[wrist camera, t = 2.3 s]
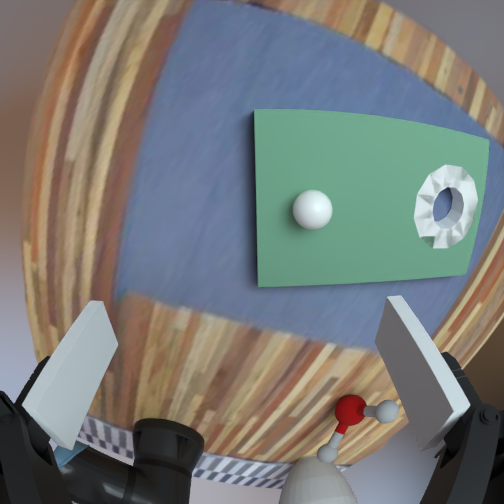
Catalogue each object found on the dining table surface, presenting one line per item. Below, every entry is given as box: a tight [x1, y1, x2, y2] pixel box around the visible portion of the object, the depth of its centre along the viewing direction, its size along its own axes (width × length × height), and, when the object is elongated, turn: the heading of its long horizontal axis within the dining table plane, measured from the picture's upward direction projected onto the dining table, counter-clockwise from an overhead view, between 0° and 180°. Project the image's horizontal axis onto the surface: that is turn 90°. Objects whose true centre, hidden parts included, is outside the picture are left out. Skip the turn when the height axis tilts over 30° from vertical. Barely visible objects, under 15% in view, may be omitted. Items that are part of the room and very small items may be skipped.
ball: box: [293, 190, 332, 230], centre depth 26 cm, size 4×4×4 cm
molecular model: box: [317, 395, 399, 463], centre depth 39 cm, size 18×6×10 cm, turn 151°
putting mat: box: [254, 109, 489, 287], centre depth 28 cm, size 28×18×2 cm, turn 91°
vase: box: [279, 454, 358, 504], centre depth 44 cm, size 18×18×25 cm
